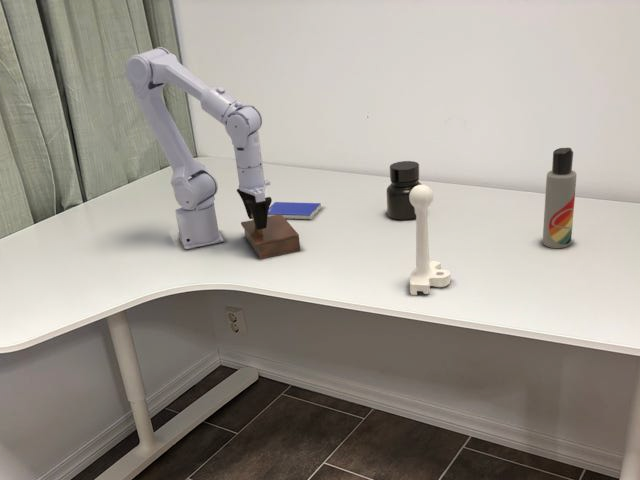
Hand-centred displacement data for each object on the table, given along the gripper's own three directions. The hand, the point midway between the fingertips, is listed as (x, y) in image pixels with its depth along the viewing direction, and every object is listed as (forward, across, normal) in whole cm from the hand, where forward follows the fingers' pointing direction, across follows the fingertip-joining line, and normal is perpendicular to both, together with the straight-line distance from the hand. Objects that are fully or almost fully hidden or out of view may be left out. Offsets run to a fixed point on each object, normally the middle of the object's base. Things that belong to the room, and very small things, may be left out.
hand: (257, 223), depth 177 cm
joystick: (+6, -37, -26) cm, 46 cm away
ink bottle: (+6, +1, -37) cm, 37 cm away
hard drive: (+6, +17, -13) cm, 22 cm away
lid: (+2, 0, -3) cm, 3 cm away
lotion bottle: (+6, -32, -57) cm, 65 cm away
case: (+6, 0, -3) cm, 6 cm away
